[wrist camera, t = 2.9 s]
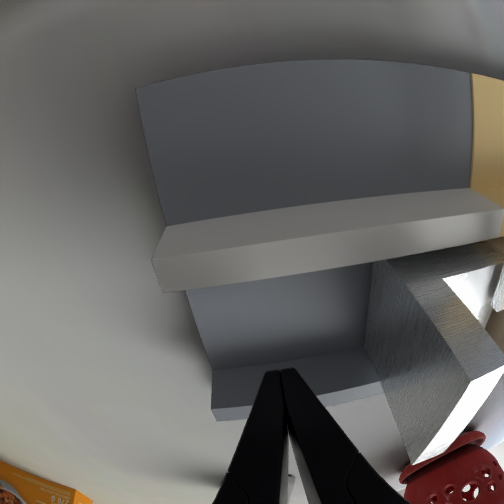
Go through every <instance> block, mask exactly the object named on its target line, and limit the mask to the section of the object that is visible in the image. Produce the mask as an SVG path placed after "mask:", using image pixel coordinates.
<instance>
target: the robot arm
mask: <svg viewBox="0 0 504 504" xmlns="http://www.w3.org/2000/svg"><path fill="white" fill-rule="evenodd" d="M287 426H288V427H287ZM288 432H289V437H290V441H291V445H292V448H293V452H294V455H295V459H296V462H297V466H298V469H299V473H300V476H301V479H302V483H303V486H304V490H305V493H306V496H307V500H308V503H309V504H411V503H409V502H408V501H407V500H406V499H405V498H404V497H402V496H401V495H400V494H399V493H398V492H397V491H396V490H394V489H393V488H392V487H391V486H390V485H389V484H388V483H387V482H386V481H385V480H384V479H383V478H382V477H381V476H380V475H379V474H378V473H377V472H376V471H375V470H374V468H373V467H372V466H371V465H370V464H369V463H368V462H367V460H366V459H365V458H364V457H363V455H362V454H361V453H358V452H359V451H358V449H357V448H356V447H355V445H354V444H353V443H352V442H351V440H350V439H349V438H348V437H347V435H346V434H345V433H344V431H343V430H342V429H341V428H340V426H339V425H338V424H337V422H336V421H335V420H334V419H333V417H332V416H331V415H330V413H329V412H328V411H327V409H326V408H325V407H324V406H323V404H322V403H321V402H320V400H319V399H318V398H317V396H316V395H315V394H314V392H313V391H312V390H311V388H310V387H309V386H308V384H307V383H306V382H305V380H304V379H303V378H302V376H301V375H300V374H299V372H298V371H297V370H296V369H295V368H294V367H288V368H282V369H281V370H280V371H279V370H278V369H275V370H267V371H265V373H264V375H263V378H262V381H261V384H260V387H259V389H258V392H257V395H256V398H255V400H254V403H253V406H252V409H251V411H250V414H249V417H248V419H247V422H246V425H245V427H244V430H243V433H242V435H241V438H240V440H239V443H238V446H237V448H236V451H235V453H234V456H233V458H232V461H231V463H230V466H229V468H228V472H229V473H228V472H227V473H226V475H225V478H224V480H223V482H222V485H221V487H220V489H219V491H218V493H217V496H216V498H215V500H214V501H213V503H212V504H288V452H289V440H288Z"/></svg>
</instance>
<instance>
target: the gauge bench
mask: <svg viewBox="0 0 504 504" xmlns="http://www.w3.org/2000/svg"><path fill="white" fill-rule="evenodd" d="M135 90H136V96H137V101H138V106H139V111H140V117H141V122H142V126H143V131H144V136H145V141H146V145H147V150H148V154H149V159H150V163H151V168H152V172H153V176H154V180H155V184H156V188H157V192H158V196H159V200H160V204H161V208H162V212H163V216H164V219H165V223H166V228H165V231H164V233H163V235H162V237H161V239H160V241H159V244H158V246H157V248H156V250H155V252H154V255H153V257H152V259H151V261H152V264H153V267H154V270H155V273H156V276H157V279H158V282H159V285H160V287H161V290H162V293H167V292H175V291H182V290H185V291H186V295H187V298H188V301H189V304H190V307H191V310H192V313H193V316H194V319H195V322H196V325H197V328H198V331H199V334H200V337H201V340H202V342H203V345H204V348H205V351H206V354H207V356H208V359H209V362H210V365H211V367H212V370H213V371H212V395H211V410H212V412H213V414H214V416H215V418H216V421H228V420H240V419H248V417H249V414H250V411H251V409H252V406H253V403H254V400H255V398H256V395H257V392H258V389H259V387H260V384H261V381H262V378H263V375H264V373H265V371H267V370H275V369H278V370H279V371H280V370H281V369H282V368H288V367H294V368H295V369H296V370H297V371H298V372H299V374H300V375H301V376H302V378H303V379H304V380H305V382H306V383H307V384H308V386H309V387H310V388H311V390H312V391H313V392H314V394H315V395H316V396H317V398H318V399H319V400H320V402H321V403H322V404H323V406H324V407H327V406H332V405H337V404H341V403H346V402H350V401H354V400H358V399H362V398H366V397H370V396H374V395H377V394H381V393H384V391H383V389H382V386H381V384H380V381H379V379H378V376H377V374H376V372H375V369H374V367H373V365H372V362H371V360H370V358H369V355H368V353H367V351H366V349H365V346H364V337H365V330H366V322H367V314H368V306H369V297H370V287H371V277H372V264H373V261H379V260H385V259H390V258H396V257H401V256H407V255H412V254H418V253H423V252H428V251H434V250H439V249H444V248H449V247H454V246H459V245H464V244H469V243H474V242H479V241H484V240H489V239H493V238H498V237H503V236H504V81H502V80H499V79H495V78H491V77H487V76H483V75H479V74H474V73H468V72H463V71H458V70H453V69H447V68H441V67H435V66H428V65H420V64H412V63H403V62H391V61H377V60H352V59H322V60H297V61H282V62H271V63H261V64H252V65H244V66H237V67H230V68H223V69H217V70H212V71H206V72H201V73H196V74H191V75H186V76H181V77H177V78H173V79H168V80H164V81H160V82H156V83H153V84H149V85H145V86H142V87H138V88H135Z"/></svg>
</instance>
